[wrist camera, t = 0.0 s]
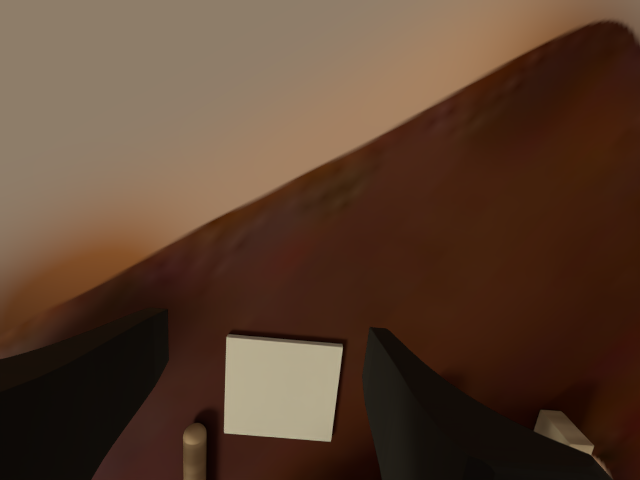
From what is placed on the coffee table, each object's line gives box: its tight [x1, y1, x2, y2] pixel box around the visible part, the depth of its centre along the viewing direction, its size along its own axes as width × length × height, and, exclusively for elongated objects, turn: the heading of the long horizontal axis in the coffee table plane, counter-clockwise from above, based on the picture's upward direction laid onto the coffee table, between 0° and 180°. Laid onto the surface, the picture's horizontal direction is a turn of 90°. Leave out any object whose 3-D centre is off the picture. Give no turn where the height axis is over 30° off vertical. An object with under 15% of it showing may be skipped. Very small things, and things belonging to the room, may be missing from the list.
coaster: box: [224, 334, 343, 442], centre depth 24 cm, size 8×8×1 cm
